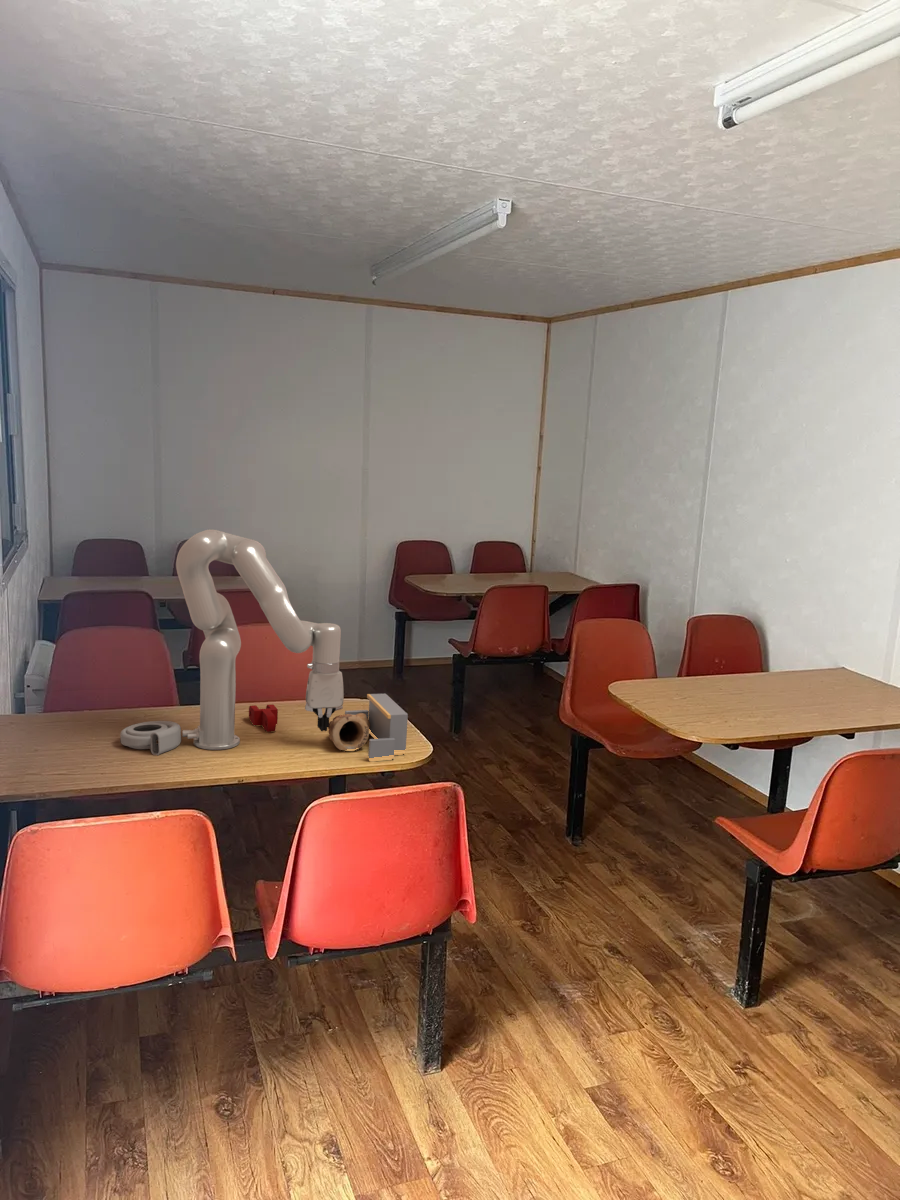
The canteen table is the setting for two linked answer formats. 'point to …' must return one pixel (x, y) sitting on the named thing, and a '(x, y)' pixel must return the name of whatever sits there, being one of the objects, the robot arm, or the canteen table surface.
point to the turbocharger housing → (152, 736)
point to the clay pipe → (349, 731)
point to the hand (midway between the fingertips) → (322, 729)
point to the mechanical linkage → (264, 717)
